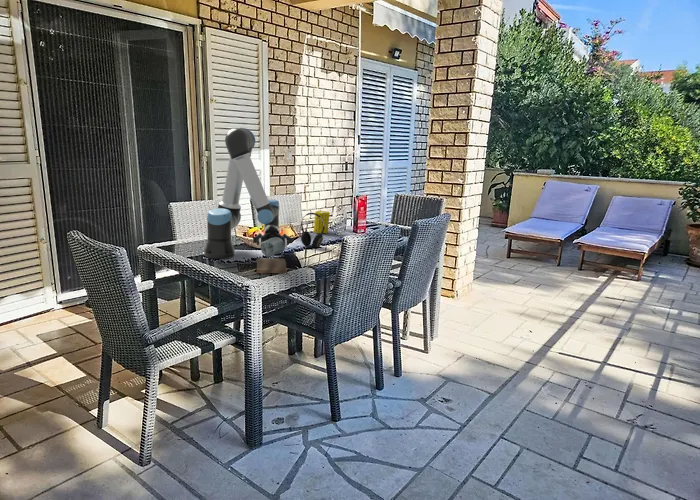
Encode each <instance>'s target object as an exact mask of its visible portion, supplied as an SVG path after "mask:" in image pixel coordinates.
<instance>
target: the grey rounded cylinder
mask: <svg viewBox="0 0 700 500" xmlns="http://www.w3.org/2000/svg"><path fill="white" fill-rule="evenodd" d="M285 249H286V248H285V243H284V241H283V240H282V239H281V238H279V237H274V238H270V239H268V240H266V241H264V242H261V247H260V250H261V253H262V254H263V255H264V256H265V257H267V258H271V257H273V256H275V255H278V254H280V253H284V251H285Z"/></svg>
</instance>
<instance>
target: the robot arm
mask: <svg viewBox="0 0 700 500" xmlns="http://www.w3.org/2000/svg"><path fill="white" fill-rule="evenodd" d="M224 142H225V143H224V144H225V147H226V149H227V153H228V155H229V163H228V167H227V172H226V178H225V183H224V189H223V194H222V200H221V201H220V202H218V206H217V208H213V209H211V210H209V211H208V212H207V217H206V220H207V222H206V223H207V240H206V244H205V247H204V250H203V256H205V258H208V259H213V260H214V259H215V260H224V259H225V258H226V259H230V257H231V258H233V257H235V253H236V252H235V249H234V245H233V242H232V230H233V229H235V228H236V227H237V226H239V224H240V221H241V218H242V215H241V209H242V207H241V205H240V199H241V198H240V197H241V193H242V188H243V183H244V186H245V187H246V190H247V192H248V194H249V196H250V199H251V202H252V203H253V205H254V208H255V210H256V213H257V216H256V217H257V221H258V222H259V223H260V224H261V225H264V227H263V229H264V234H262V233H260V232H259V233H257V235H255V236H253V238H252V243H253V244H256V245H258V247H259V248H261V244H262V243H263V242H264V241H266V240H268V239H270V238H274V237H279V238H281V239H282V240H283V241H284V243H285V249H286V248H288V245H290V244H293V238H292V237H290V236H289V235H287V234H286V233H283V234H280V230H279V224H280V220H279V215H280V202H279V200H276V199H269V198H268V195H267V194H266V191H265V188H264V186H263V185H262V184H263V183H262V181H261V179H260V177H259V175H258V172H257V170H256V168H255V166H254V163H253V161H252V158H251V156H252V153H253V148H254V147H255V145H256V136H255V134H254V133H253V132H252V131H251V130H250V129H248V128H245V127H238V128H235V127H234V128H231V129H230V130H229V131H228V132H227V133H226V134H225V139H224ZM226 259H225V260H226Z"/></svg>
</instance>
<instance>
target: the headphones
mask: <svg viewBox="0 0 700 500" xmlns="http://www.w3.org/2000/svg"><path fill="white" fill-rule="evenodd" d="M308 215H314V216H315V215H316V216H318V217H319V218H321V217H320V216H319V215H318V214H316V213H315V212H308V213H306V214H305V215H303V217H302V219H301V221H300V228H301V235H300V241H301V243H302V244H303V246H306V247H309V246H310V245H312V247H313V248H315V249H316V248H319V247H320V246H321V244H322V243H323V239H324V236H323V234H324V233H323V232H324V227H325V226H324V221H323V220H322V218H321V220H322V221H323V229H322V232H321V233H316V235H315V236H314V238H313V239H312V236H311V233H310V232H309V231H307V230H305V229H304V226H303V220H304V218H305V217H306V216H308Z"/></svg>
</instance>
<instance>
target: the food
mask: <svg viewBox="0 0 700 500" xmlns="http://www.w3.org/2000/svg"><path fill="white" fill-rule="evenodd" d="M314 213H316V214H318V215H319V216H320V217H321V218H322V220H323V221H324V226H325V227H324V232H323V234H328V231H329V225H330V211H326V210H322V209H321V210H316V211H315V212H314ZM321 218H319V217H318V216H316V215H314V220H313V222H314V223H313V224H314V225H313V232H314V233H315V234H321V232H322V229H323V221H322V220H321Z"/></svg>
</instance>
